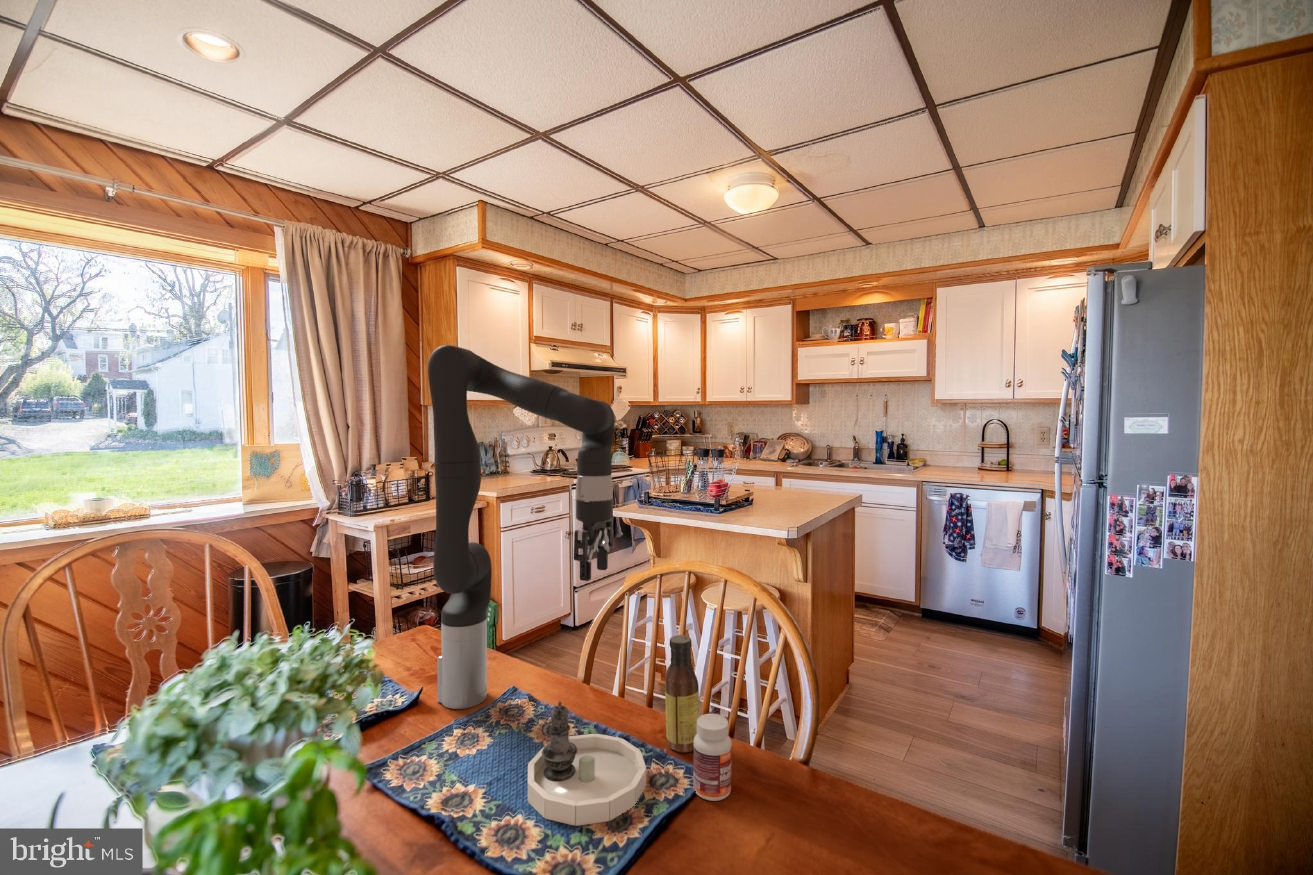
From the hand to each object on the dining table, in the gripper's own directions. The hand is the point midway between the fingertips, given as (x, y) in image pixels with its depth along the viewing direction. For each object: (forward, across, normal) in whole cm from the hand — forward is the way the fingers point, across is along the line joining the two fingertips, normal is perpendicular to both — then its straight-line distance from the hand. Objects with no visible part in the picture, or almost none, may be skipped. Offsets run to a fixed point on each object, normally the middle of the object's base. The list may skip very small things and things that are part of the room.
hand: (594, 574), depth 118 cm
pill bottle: (+28, +18, +29) cm, 44 cm away
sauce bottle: (+28, +7, +21) cm, 36 cm away
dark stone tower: (+27, +23, +4) cm, 36 cm away
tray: (+28, +23, +9) cm, 37 cm away
